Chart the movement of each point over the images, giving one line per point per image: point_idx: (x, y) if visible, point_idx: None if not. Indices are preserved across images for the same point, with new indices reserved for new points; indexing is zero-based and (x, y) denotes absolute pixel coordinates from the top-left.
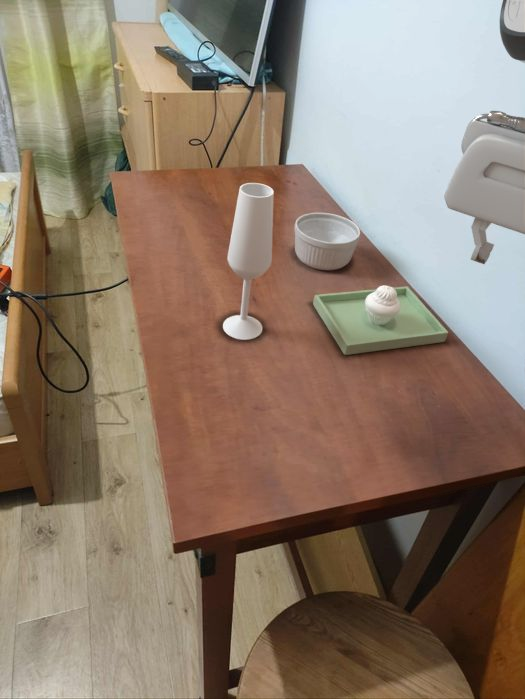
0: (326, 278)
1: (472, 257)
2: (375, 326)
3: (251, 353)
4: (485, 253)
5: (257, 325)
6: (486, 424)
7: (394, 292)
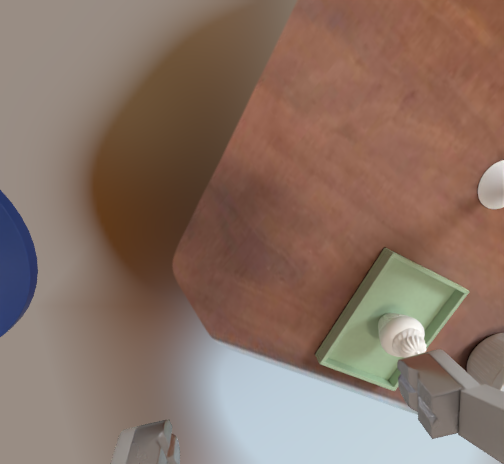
0: (470, 333)
1: (442, 352)
2: (384, 311)
3: (467, 159)
4: (431, 381)
5: (490, 198)
6: (219, 287)
7: (406, 354)
